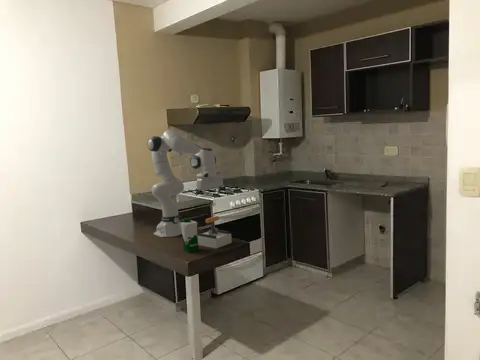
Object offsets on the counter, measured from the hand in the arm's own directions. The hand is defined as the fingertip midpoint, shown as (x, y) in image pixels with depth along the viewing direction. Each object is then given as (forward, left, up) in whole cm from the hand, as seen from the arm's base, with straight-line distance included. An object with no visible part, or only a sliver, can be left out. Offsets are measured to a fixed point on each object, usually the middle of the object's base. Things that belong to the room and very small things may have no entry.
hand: (211, 195), depth 255 cm
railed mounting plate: (-1, 0, -26) cm, 26 cm away
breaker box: (-1, 0, -32) cm, 32 cm away
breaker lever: (-1, 0, -24) cm, 24 cm away
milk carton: (-3, -18, -32) cm, 37 cm away
